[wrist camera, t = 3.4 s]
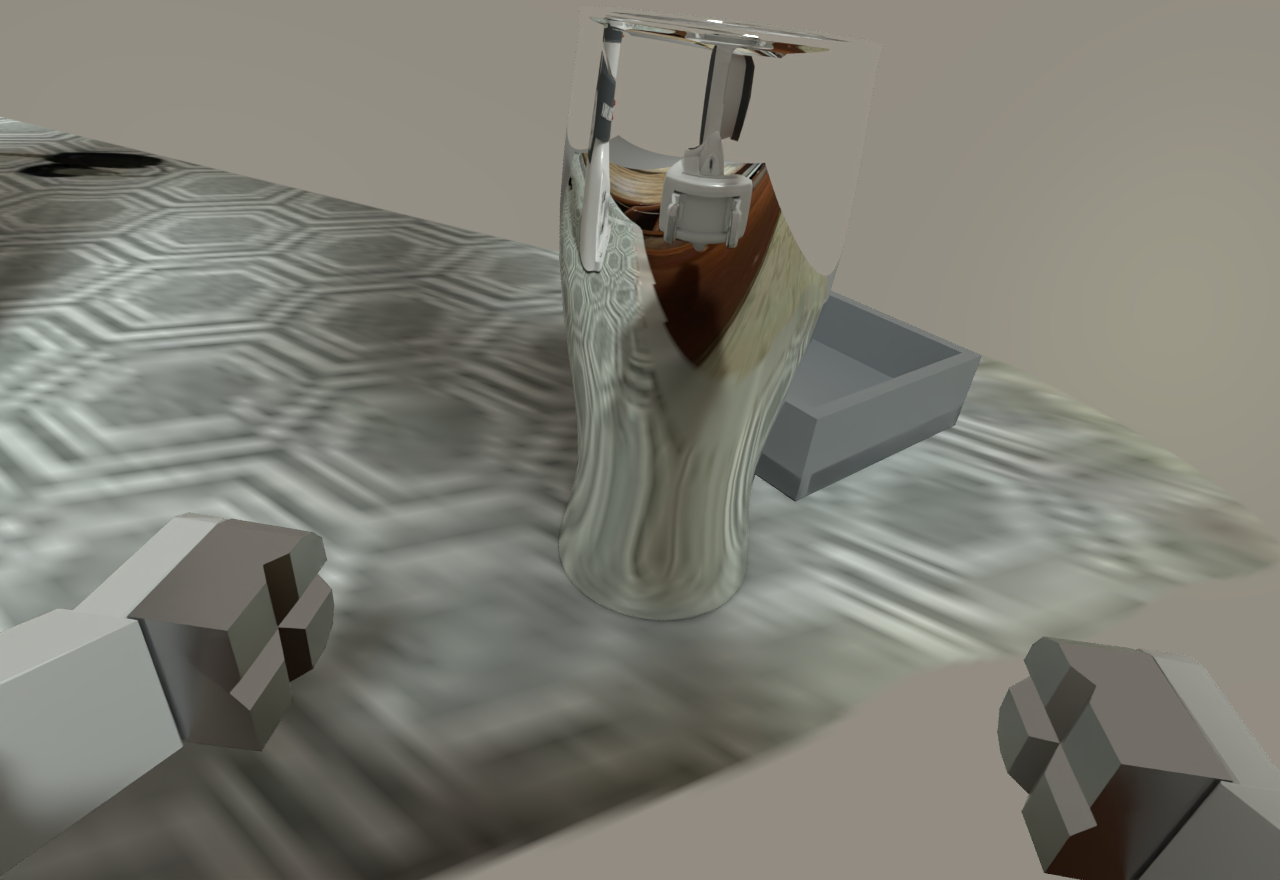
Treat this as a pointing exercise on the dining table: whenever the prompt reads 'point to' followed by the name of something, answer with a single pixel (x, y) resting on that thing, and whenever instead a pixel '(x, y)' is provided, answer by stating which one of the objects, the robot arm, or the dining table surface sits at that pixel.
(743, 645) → the dining table surface
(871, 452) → the box
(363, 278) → the dining table surface
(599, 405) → the silver tall rounded piece
